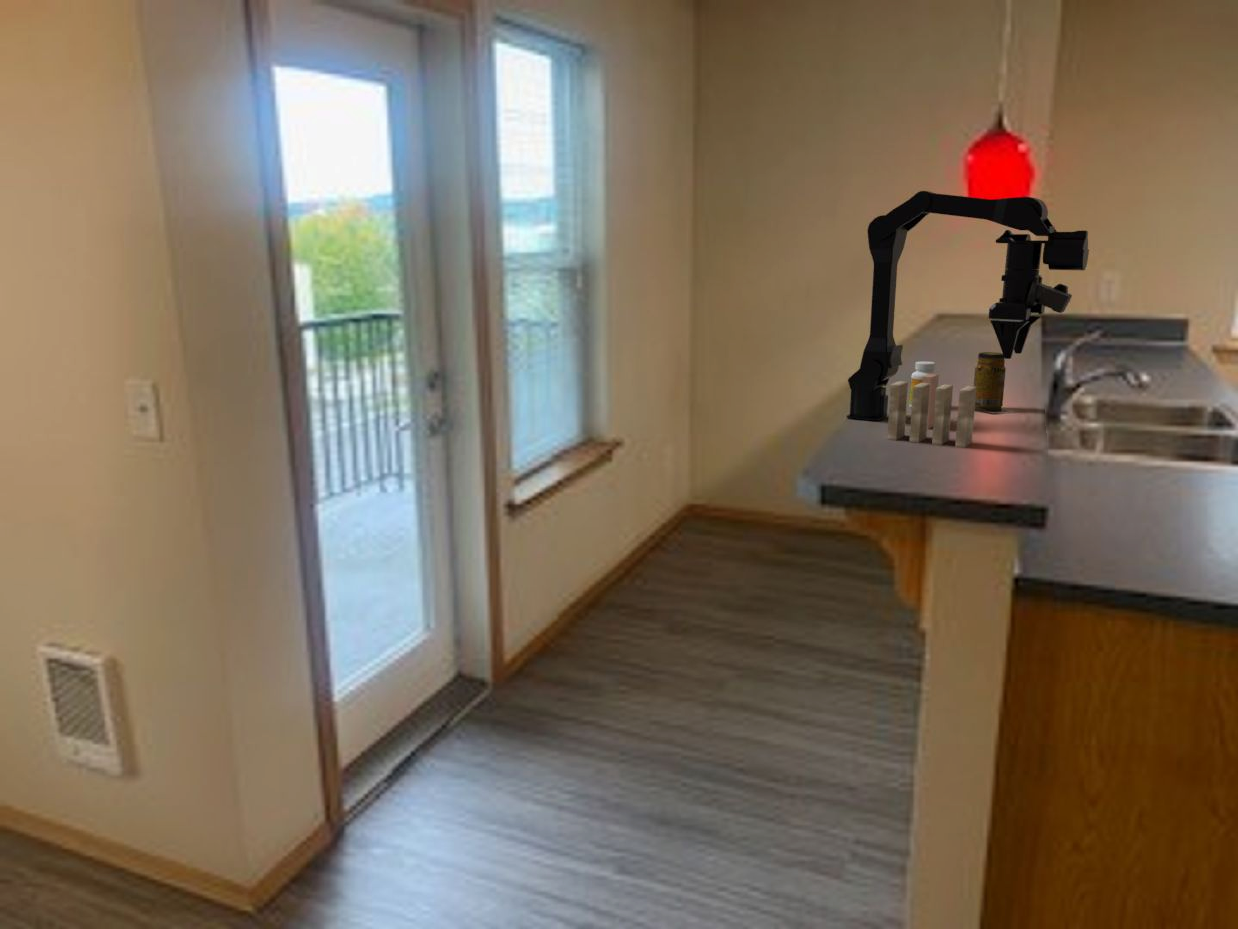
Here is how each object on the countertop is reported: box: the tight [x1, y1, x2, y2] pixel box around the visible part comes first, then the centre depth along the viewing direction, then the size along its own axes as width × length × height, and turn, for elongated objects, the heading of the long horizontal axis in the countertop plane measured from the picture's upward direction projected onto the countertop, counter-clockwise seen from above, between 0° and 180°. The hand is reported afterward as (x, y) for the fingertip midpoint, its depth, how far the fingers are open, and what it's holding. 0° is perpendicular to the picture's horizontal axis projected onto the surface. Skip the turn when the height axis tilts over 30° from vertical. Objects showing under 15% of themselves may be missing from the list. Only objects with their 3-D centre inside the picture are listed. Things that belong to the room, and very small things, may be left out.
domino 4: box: [931, 384, 954, 446], centre depth 163 cm, size 2×5×10 cm, turn 146°
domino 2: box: [908, 383, 930, 444], centre depth 165 cm, size 2×5×10 cm, turn 146°
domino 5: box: [955, 385, 976, 449], centre depth 161 cm, size 2×5×10 cm, turn 146°
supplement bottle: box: [908, 360, 937, 408], centre depth 198 cm, size 5×5×10 cm
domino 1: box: [886, 380, 909, 441], centre depth 168 cm, size 2×5×10 cm, turn 146°
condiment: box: [972, 351, 1017, 414], centre depth 194 cm, size 7×8×12 cm
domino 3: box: [922, 373, 940, 430], centre depth 177 cm, size 2×5×10 cm, turn 146°
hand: (1013, 355), depth 170 cm, fingers open, 9 cm apart
